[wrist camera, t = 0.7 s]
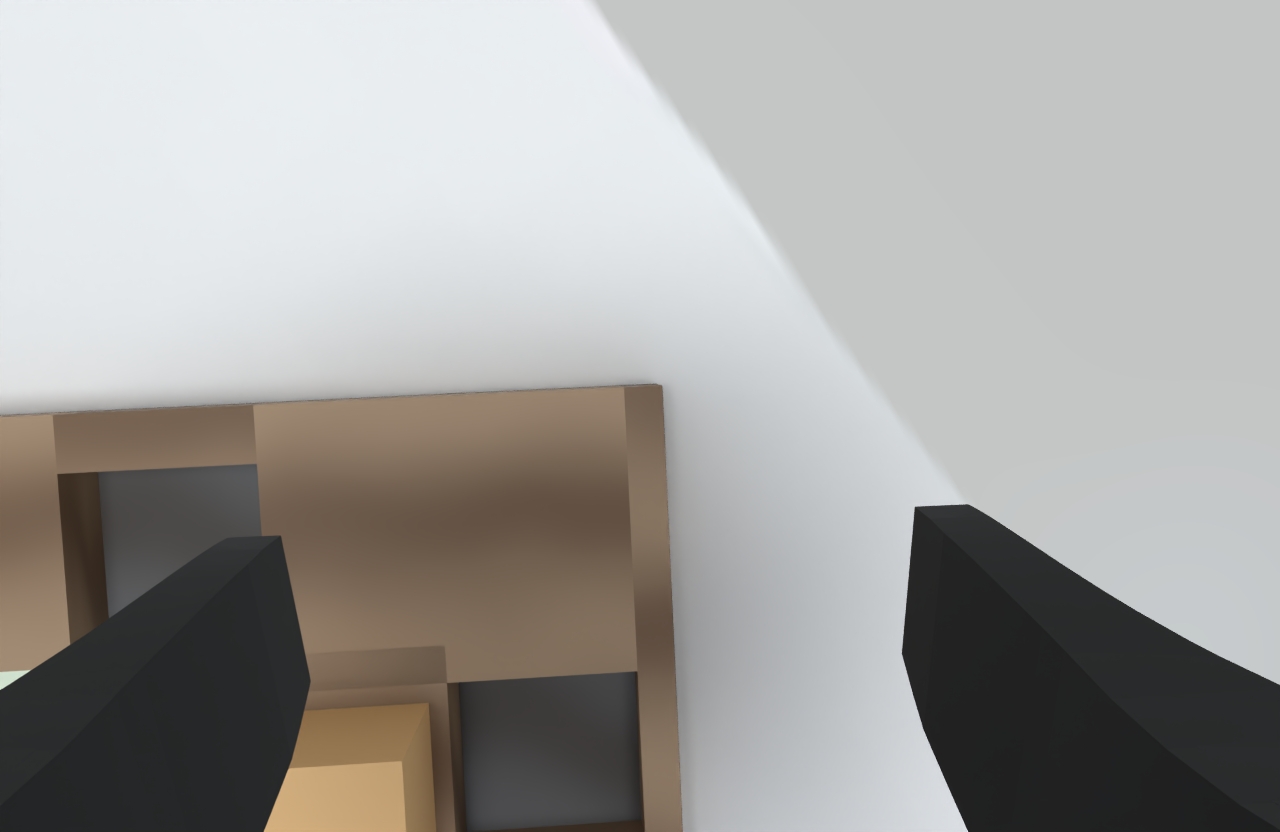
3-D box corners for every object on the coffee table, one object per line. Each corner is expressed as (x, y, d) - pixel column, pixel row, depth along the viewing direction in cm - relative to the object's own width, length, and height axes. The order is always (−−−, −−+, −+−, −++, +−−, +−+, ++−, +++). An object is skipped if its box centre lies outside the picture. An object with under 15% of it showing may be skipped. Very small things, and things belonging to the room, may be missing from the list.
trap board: (677, 863, 30) (685, 907, 28) (8, 911, 29) (-45, 961, 27) (655, 384, 30) (662, 385, 27) (-32, 416, 29) (-91, 421, 26)
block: (437, 852, 28) (412, 934, 24) (283, 862, 27) (231, 948, 23) (428, 702, 27) (402, 761, 23) (273, 712, 27) (219, 773, 23)
